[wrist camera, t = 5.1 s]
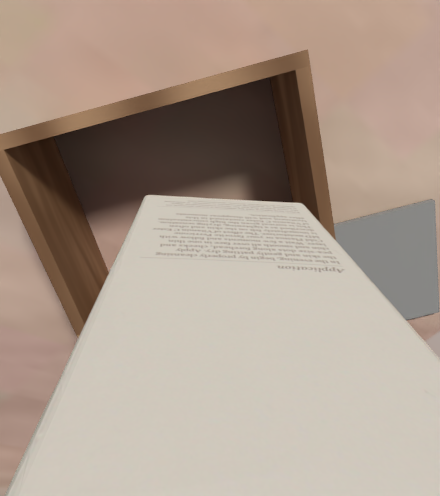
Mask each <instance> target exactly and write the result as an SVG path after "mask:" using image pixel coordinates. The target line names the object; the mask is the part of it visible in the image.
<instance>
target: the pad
mask: <svg viewBox="0 0 440 496" xmlns="http://www.w3.org/2000/svg"><path fill="white" fill-rule="evenodd" d="M334 230H335V237H336V241H337V243H338V244H339V245H340V246H341V247H342V248H343V249H344V251H345V252H346V253H347V254H348V255H349V256H350V257H351V258H352V260H353V261H354V262H355V263H356V264H357V265H358V266H359V268H360V269H361V270H362V271H363V272H364V273H365V274H366V275H367V277H368V278H369V279H370V280H371V281H372V282H373V283H374V285H375V286H376V287H377V288H378V289H379V290H380V291H381V293H382V294H383V295H384V296H385V297H386V298H387V299H388V300H389V301H390V303H391V304H392V305H393V306H394V307H395V308H396V309H397V310H398V312H399V313H400V314H401V315H402V316H403V318H404V319H405V320H408V319H413V318H417V317H421V316H425V315H429V314H433V313H437V312H439V293H438V267H437V242H436V216H435V201H434V200H432V199H430V200H426V201H422V202H418V203H414V204H410V205H407V206H403V207H399V208H395V209H391V210H387V211H383V212H379V213H376V214H372V215H368V216H364V217H360V218H356V219H352V220H348V221H345V222H341V223H337V224H334Z"/></svg>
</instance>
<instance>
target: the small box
mask: <svg viewBox="0 0 440 496" xmlns="http://www.w3.org/2000/svg"><path fill="white" fill-rule="evenodd" d="M5 496H440V358H439V357H438V356H437V355H436V354H435V353H434V352H433V351H432V350H431V348H430V347H429V346H428V345H427V344H426V342H425V341H424V340H423V339H422V338H421V337H420V336H419V335H418V333H417V332H416V331H415V330H414V329H413V328H412V327H411V325H410V324H409V323H408V322H407V321H406V320H405V319H404V318H403V316H402V315H401V314H400V313H399V312H398V310H397V309H396V308H395V307H394V306H393V305H392V304H391V303H390V301H389V300H388V299H387V298H386V297H385V296H384V295H383V294H382V293H381V291H380V290H379V289H378V288H377V287H376V286H375V285H374V283H373V282H372V281H371V280H370V279H369V278H368V277H367V275H366V274H365V273H364V272H363V271H362V270H361V269H360V268H359V266H358V265H357V264H356V263H355V262H354V261H353V260H352V258H351V257H350V256H349V255H348V254H347V253H346V252H345V251H344V249H343V248H342V247H341V246H340V245H339V244H338V243H337V241H336V240H335V239H334V238H333V237H332V236H331V235H330V234H329V232H328V231H327V230H326V229H325V228H324V227H323V226H322V225H321V223H320V222H319V221H318V220H317V219H316V218H315V217H314V216H313V214H312V213H311V212H310V211H309V210H308V209H307V208H306V207H305V206H304V205H303V204H301V203H290V202H270V201H251V200H232V199H214V198H196V197H178V196H161V195H146V196H145V197H144V199H143V201H142V204H141V206H140V208H139V210H138V212H137V215H136V217H135V219H134V221H133V223H132V226H131V228H130V230H129V232H128V234H127V236H126V238H125V240H124V243H123V245H122V247H121V249H120V251H119V253H118V255H117V257H116V259H115V261H114V263H113V265H112V267H111V269H110V272H109V274H108V276H107V278H106V280H105V283H104V285H103V287H102V289H101V291H100V293H99V295H98V297H97V300H96V302H95V304H94V306H93V308H92V310H91V312H90V314H89V316H88V319H87V321H86V323H85V325H84V327H83V329H82V331H81V333H80V336H79V338H78V340H77V342H76V344H75V347H74V349H73V351H72V353H71V355H70V358H69V360H68V362H67V364H66V366H65V369H64V371H63V373H62V375H61V377H60V380H59V382H58V384H57V386H56V388H55V390H54V392H53V394H52V396H51V398H50V400H49V402H48V404H47V406H46V408H45V410H44V412H43V414H42V416H41V418H40V421H39V423H38V425H37V427H36V429H35V431H34V434H33V436H32V438H31V440H30V442H29V444H28V447H27V449H26V451H25V453H24V455H23V457H22V460H21V462H20V464H19V466H18V468H17V470H16V472H15V475H14V477H13V479H12V481H11V483H10V485H9V488H8V490H7V492H6V494H5Z"/></svg>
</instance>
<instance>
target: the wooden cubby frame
mask: <svg viewBox="0 0 440 496" xmlns="http://www.w3.org/2000/svg"><path fill="white" fill-rule="evenodd" d="M267 77H270V82H271V87H272V92H273V98H274V103H275V108H276V114H277V119H278V124H279V130H280V135H281V141H282V146H283V151H284V157H285V162H286V167H287V173H288V178H289V183H290V189H291V194H292V199H293V203H301V204H303V205H304V206H305V207H306V208H307V209H308V210H309V211H310V212H311V213H312V214H313V216H314V217H315V218H316V219H317V220H318V221H319V222H320V223H321V225H322V226H323V227H324V228H325V229H326V230H327V231H328V232H329V234H330V235H331V236H332V237H333V238H334V239H335V240H336V237H335V230H334V224H333V217H332V210H331V203H330V197H329V190H328V183H327V176H326V169H325V163H324V156H323V149H322V142H321V136H320V129H319V122H318V115H317V109H316V102H315V95H314V88H313V82H312V75H311V68H310V61H309V55H308V50H304V51H301V52H297V53H293V54H290V55H286V56H282V57H279V58H275V59H272V60H268V61H264V62H261V63H257V64H253V65H250V66H246V67H243V68H239V69H235V70H232V71H228V72H224V73H221V74H217V75H214V76H210V77H206V78H203V79H199V80H195V81H192V82H188V83H185V84H181V85H177V86H174V87H170V88H166V89H163V90H159V91H156V92H152V93H148V94H145V95H141V96H137V97H134V98H130V99H127V100H123V101H119V102H116V103H112V104H108V105H105V106H101V107H98V108H94V109H90V110H87V111H83V112H79V113H76V114H72V115H69V116H65V117H61V118H58V119H54V120H50V121H47V122H43V123H40V124H36V125H32V126H29V127H25V128H21V129H18V130H14V131H11V132H7V133H3V134H0V176H1V178H2V180H3V182H4V184H5V186H6V188H7V191H8V193H9V195H10V197H11V199H12V201H13V203H14V205H15V207H16V209H17V211H18V214H19V216H20V218H21V220H22V222H23V224H24V226H25V228H26V230H27V232H28V235H29V237H30V239H31V241H32V243H33V245H34V247H35V249H36V251H37V253H38V255H39V258H40V260H41V262H42V264H43V266H44V268H45V270H46V272H47V274H48V276H49V279H50V281H51V283H52V285H53V287H54V289H55V291H56V293H57V295H58V297H59V299H60V302H61V304H62V306H63V308H64V310H65V312H66V314H67V316H68V318H69V320H70V322H71V325H72V327H73V329H74V331H75V333H76V335H77V337H78V338H79V336H80V333H81V331H82V329H83V327H84V325H85V323H86V321H87V319H88V316H89V314H90V312H91V310H92V308H93V306H94V304H95V302H96V300H97V297H98V295H99V293H100V291H101V289H102V287H103V285H104V283H105V280H106V278H107V276H108V274H109V272H108V270H107V267H106V265H105V263H104V260H103V258H102V255H101V253H100V250H99V248H98V245H97V243H96V240H95V238H94V236H93V233H92V231H91V228H90V226H89V223H88V221H87V218H86V216H85V214H84V211H83V209H82V206H81V204H80V201H79V199H78V196H77V194H76V191H75V189H74V187H73V184H72V182H71V179H70V177H69V174H68V172H67V169H66V167H65V165H64V162H63V160H62V157H61V155H60V152H59V150H58V147H57V145H56V142H55V140H54V138H53V136H56V135H60V134H63V133H67V132H71V131H74V130H78V129H82V128H85V127H89V126H92V125H96V124H100V123H103V122H107V121H111V120H114V119H118V118H122V117H125V116H129V115H133V114H136V113H140V112H144V111H147V110H151V109H154V108H158V107H162V106H165V105H169V104H173V103H176V102H180V101H184V100H187V99H191V98H195V97H198V96H202V95H205V94H209V93H213V92H216V91H220V90H224V89H227V88H231V87H235V86H238V85H242V84H246V83H249V82H253V81H257V80H260V79H264V78H267Z"/></svg>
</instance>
